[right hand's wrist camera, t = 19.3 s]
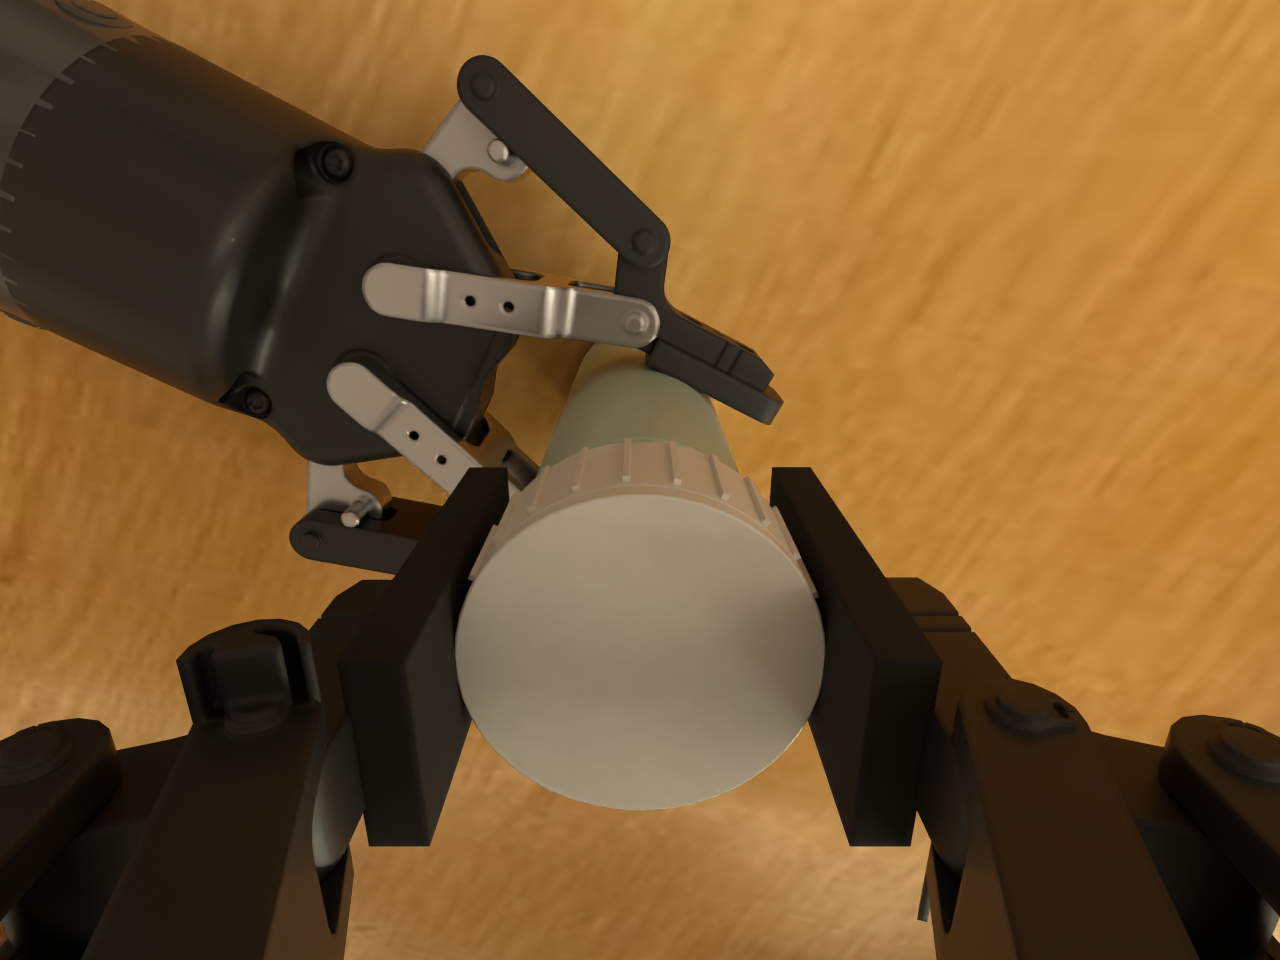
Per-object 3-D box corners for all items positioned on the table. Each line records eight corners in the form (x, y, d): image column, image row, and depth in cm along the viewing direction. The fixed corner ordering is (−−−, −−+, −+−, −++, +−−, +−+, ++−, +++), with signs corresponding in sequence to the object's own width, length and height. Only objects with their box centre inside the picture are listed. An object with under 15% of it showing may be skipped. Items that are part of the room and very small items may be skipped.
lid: (858, 596, 12) (906, 680, 10) (628, 761, 14) (625, 868, 11) (654, 368, 11) (658, 406, 9) (418, 574, 12) (369, 653, 10)
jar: (567, 332, 25) (468, 495, 10) (696, 318, 25) (778, 465, 10) (584, 454, 27) (518, 744, 12) (705, 442, 27) (787, 721, 12)
